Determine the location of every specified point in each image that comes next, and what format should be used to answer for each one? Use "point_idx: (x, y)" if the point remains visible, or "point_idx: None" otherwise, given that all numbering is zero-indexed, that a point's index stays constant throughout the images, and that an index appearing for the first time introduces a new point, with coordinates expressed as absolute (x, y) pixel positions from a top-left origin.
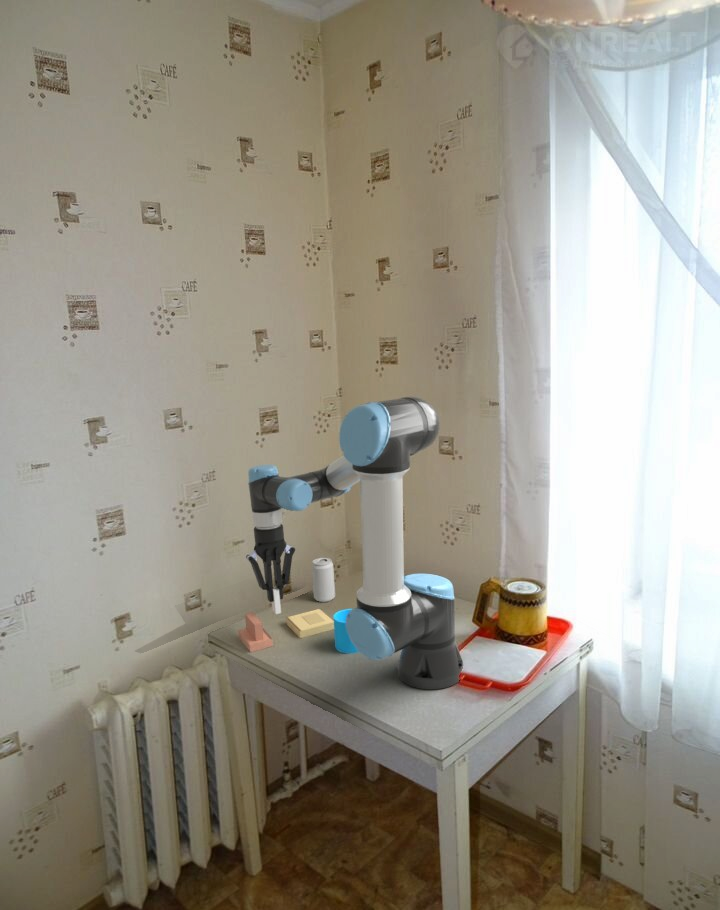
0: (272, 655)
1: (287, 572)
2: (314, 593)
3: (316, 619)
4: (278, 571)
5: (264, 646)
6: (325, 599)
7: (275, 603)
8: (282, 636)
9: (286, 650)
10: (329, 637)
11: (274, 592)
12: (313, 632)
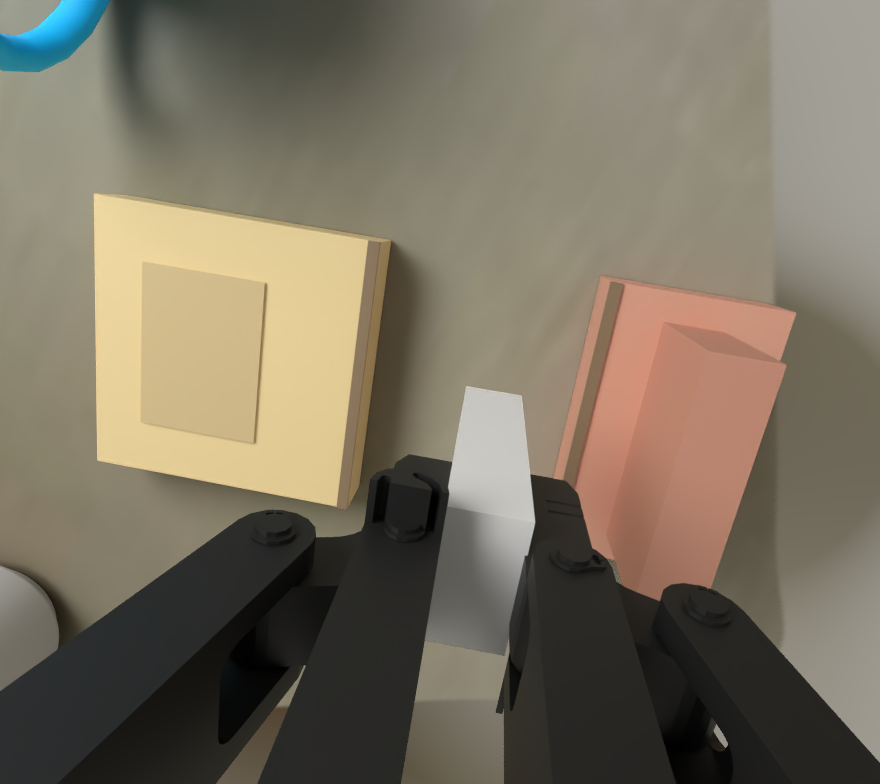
0: (687, 144)
1: (139, 655)
2: (31, 660)
3: (189, 323)
4: (351, 772)
5: (666, 287)
6: (5, 575)
7: (518, 437)
8: (470, 356)
9: (566, 142)
10: (220, 101)
11: (521, 504)
12: (285, 223)
